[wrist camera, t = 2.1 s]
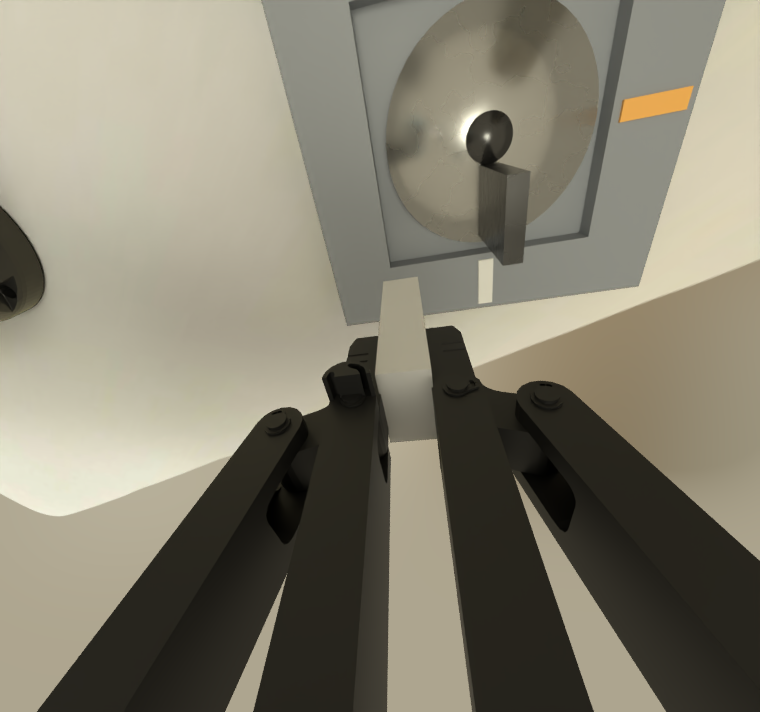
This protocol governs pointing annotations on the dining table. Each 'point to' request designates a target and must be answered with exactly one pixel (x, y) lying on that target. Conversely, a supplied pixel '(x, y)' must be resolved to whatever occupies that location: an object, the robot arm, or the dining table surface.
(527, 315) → the dining table surface
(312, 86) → the panel
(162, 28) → the dining table surface
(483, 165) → the dial
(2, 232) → the robot arm
